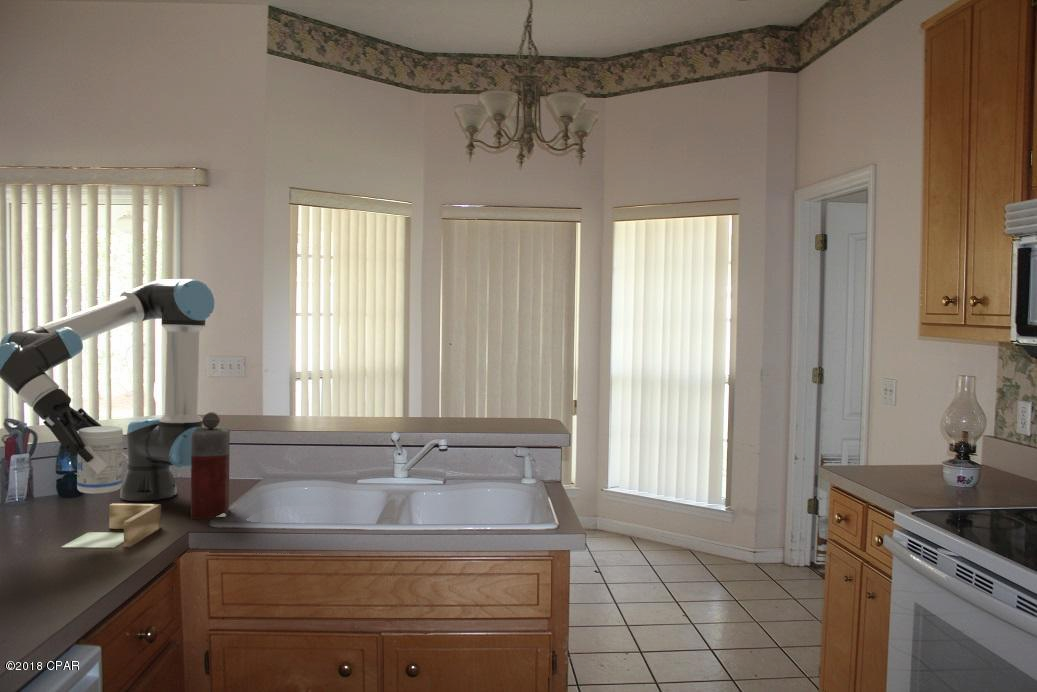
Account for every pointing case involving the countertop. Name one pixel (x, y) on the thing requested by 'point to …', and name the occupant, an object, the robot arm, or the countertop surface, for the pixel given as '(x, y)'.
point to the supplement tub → (110, 451)
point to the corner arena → (123, 527)
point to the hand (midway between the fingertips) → (113, 465)
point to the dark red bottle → (210, 469)
